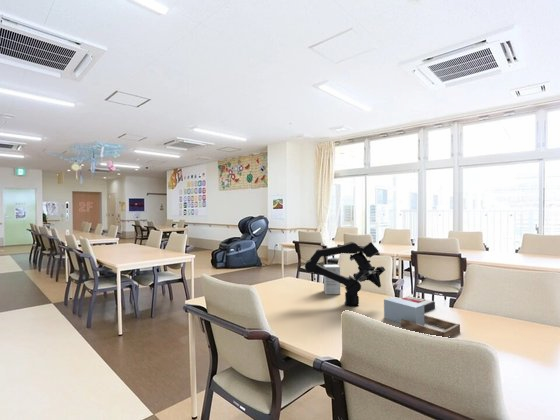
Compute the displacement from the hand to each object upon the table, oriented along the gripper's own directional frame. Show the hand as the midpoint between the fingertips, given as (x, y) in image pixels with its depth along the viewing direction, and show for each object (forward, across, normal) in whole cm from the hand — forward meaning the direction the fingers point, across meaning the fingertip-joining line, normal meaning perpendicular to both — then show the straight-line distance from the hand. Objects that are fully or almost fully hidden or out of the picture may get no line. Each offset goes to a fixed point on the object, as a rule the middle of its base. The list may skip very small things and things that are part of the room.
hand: (380, 287), depth 156 cm
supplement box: (-19, -6, -37) cm, 42 cm away
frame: (+27, +3, +11) cm, 30 cm away
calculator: (+14, -21, -4) cm, 25 cm away
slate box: (+19, +3, +2) cm, 20 cm away
